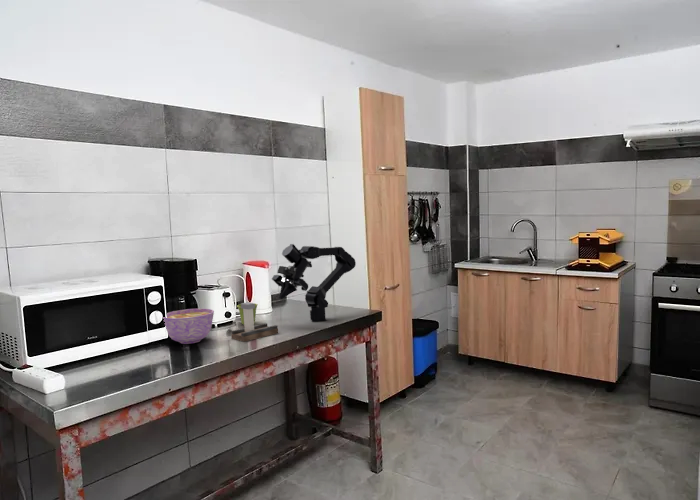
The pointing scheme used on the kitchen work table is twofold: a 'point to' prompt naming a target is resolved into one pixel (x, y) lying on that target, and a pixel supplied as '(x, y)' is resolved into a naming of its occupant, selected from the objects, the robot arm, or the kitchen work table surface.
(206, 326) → the bowl of food
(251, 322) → the fader tab
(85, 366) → the kitchen work table surface
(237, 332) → the rail
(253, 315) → the plant pot
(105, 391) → the kitchen work table surface
